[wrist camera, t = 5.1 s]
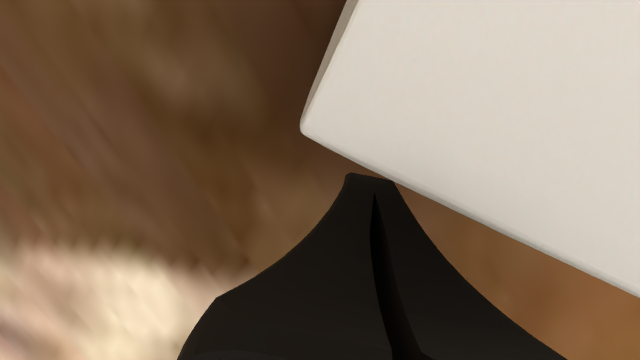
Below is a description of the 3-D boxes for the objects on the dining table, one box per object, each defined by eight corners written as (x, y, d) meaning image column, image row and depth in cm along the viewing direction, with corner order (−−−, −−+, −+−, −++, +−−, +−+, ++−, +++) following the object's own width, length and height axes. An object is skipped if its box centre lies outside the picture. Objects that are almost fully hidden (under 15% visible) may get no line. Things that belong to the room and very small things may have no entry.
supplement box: (305, 94, 17) (268, 128, 5) (390, -85, 16) (640, -671, 3) (458, 171, 18) (752, 366, 6) (553, 8, 17) (1234, -202, 4)
